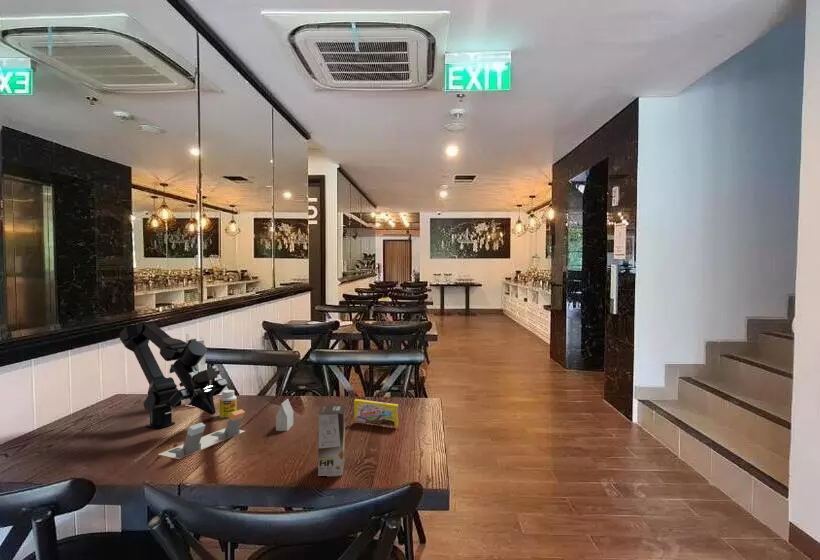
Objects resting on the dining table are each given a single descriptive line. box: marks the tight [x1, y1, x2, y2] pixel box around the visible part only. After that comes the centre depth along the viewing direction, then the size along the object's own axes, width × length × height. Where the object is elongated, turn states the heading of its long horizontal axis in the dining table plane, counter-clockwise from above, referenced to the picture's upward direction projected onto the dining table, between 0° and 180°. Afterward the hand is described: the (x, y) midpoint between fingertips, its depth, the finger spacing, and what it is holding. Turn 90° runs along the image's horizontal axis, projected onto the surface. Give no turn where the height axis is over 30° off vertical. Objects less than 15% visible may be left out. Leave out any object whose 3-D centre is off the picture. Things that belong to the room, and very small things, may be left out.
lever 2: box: [224, 408, 246, 439], centre depth 142 cm, size 2×4×8 cm, turn 156°
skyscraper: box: [184, 333, 206, 405], centre depth 183 cm, size 8×8×28 cm
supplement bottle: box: [219, 389, 238, 419], centre depth 164 cm, size 6×6×10 cm
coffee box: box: [317, 403, 346, 477], centre depth 122 cm, size 9×6×16 cm
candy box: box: [353, 398, 399, 427], centre depth 159 cm, size 16×2×8 cm, turn 68°
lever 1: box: [182, 421, 207, 456], centre depth 128 cm, size 2×4×8 cm, turn 156°
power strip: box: [158, 427, 246, 460], centre depth 138 cm, size 8×25×3 cm, turn 157°
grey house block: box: [275, 398, 295, 432], centre depth 152 cm, size 4×7×10 cm, turn 178°
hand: (213, 413), depth 145 cm, fingers closed
